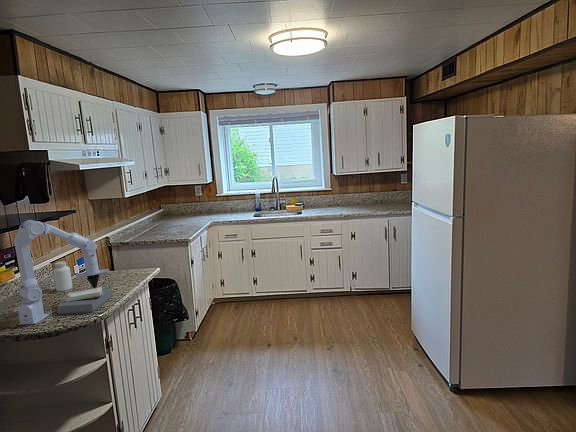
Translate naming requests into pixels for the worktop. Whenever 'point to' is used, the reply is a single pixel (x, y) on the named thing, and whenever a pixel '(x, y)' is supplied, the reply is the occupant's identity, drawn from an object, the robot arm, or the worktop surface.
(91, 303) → the gray storage bin
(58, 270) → the pill bottle
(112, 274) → the worktop surface
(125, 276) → the worktop surface
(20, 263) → the robot arm
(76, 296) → the cover
